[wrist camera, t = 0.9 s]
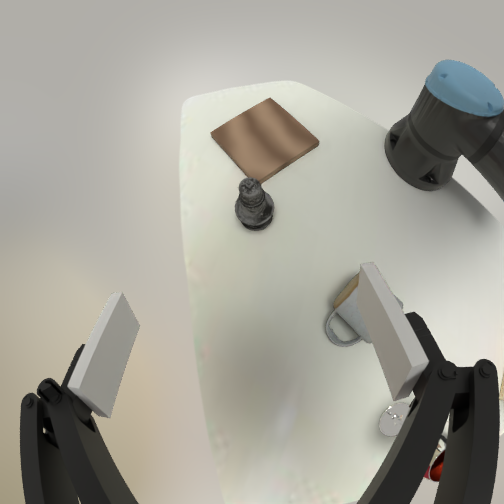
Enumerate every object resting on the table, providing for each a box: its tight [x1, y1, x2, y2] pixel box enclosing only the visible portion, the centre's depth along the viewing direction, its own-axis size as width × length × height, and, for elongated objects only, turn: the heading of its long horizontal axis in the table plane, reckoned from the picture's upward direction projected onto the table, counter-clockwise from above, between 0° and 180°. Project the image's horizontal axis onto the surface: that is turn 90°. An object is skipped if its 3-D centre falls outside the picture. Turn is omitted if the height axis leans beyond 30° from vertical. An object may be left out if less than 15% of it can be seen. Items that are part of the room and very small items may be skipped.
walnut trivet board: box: [211, 98, 319, 184], centre depth 47 cm, size 14×14×2 cm
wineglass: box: [379, 403, 449, 482], centre depth 26 cm, size 8×8×18 cm
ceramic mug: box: [326, 272, 403, 346], centre depth 36 cm, size 11×8×8 cm
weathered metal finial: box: [235, 177, 274, 231], centre depth 39 cm, size 6×6×12 cm
